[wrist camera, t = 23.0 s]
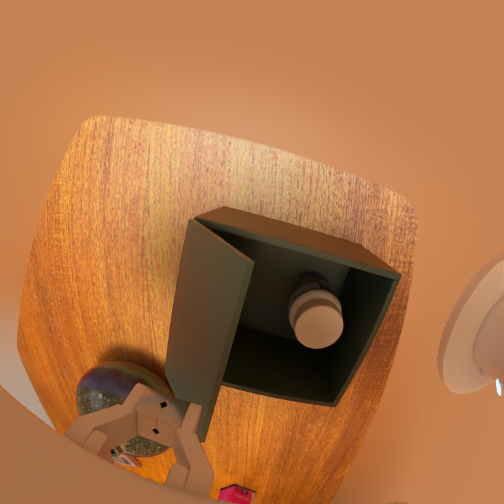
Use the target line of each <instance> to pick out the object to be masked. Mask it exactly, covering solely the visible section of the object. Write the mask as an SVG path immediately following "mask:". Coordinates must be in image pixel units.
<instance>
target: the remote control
mask: <svg viewBox="0 0 504 504" xmlns="http://www.w3.org/2000/svg"><path fill="white" fill-rule="evenodd" d="M112 458H113V460H114V461H115V462H116V463H119V464H122V465H127V466H132V467H137V468H141V467H142V465H141V464H140V463H139V462H138V461H137V460H136V459H135V458H134V457H132V456H127V455H122V454H120V456H119V457H112Z"/></svg>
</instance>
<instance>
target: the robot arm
mask: <svg viewBox="0 0 504 504" xmlns="http://www.w3.org/2000/svg"><path fill="white" fill-rule="evenodd" d="M473 360H474V362H475V363H476V364H477V365H478V366H479V367H480V372H481V374H482V375H483V376H484V377H485V376H487V375H488V376H490V377H491V378H492V379H493V380H494V381H495V382H496V384H497V391H498V394H499V395H501V389H500V386H501V387H502V388H503V389H504V294H503V296H502V297H501V298H500V299H499V300H498V302H497V303H496V304H495V305H494V306H493V307H492V309H491V310H490V311H489V313H488V314H487V316H486V318H485V319H484V321H483V323H482V325H481V327H480V329H479V331H478V334H477V336H476V339H475V343H474V347H473ZM201 410H202V406H201V405H198V404H194V403H191V402H189V401H185V400H182V399H179V398H176V397H173V396H170V395H167V394H164V393H162V392H159V391H157V390H154V389H152V388H150V387H147V386H145V385H142V384H140V383H138V384H136V385H135V387H134V388H133V390H132V391H131V392H130V394H129V395H128V397H127V398H126V400H125V401H124V403H123V404H122V405H120V404H117V405H114V406H112V407H109V408H105V409H102V410H99V411H96V412H93V413H90V414H86V415H83V416H80V417H77V418H76V419H75V420H74V422H73V423H72V424H71V425H70V427H69V428H68V429H67V430H66V432H65V433H64V434H63V435H62V434H61V433H59V432H58V431H56V430H55V429H53V428H52V427H51V426H49V425H48V424H46V423H45V422H44V421H42V420H41V419H40V418H38V417H37V416H36V415H34V414H33V413H32V412H31V411H29V410H28V409H27V408H26V407H24V406H23V405H22V404H21V403H20V402H18V401H17V400H16V399H15V398H14V397H12V395H10V394H9V393H8V392H7V391H6V390H5V389H4V388H3V387H2V386H1V385H0V504H237V503H231V502H226V501H221V500H216V499H212V498H209V494H210V490H211V486H212V482H213V478H214V472H213V470H212V468H211V466H210V464H209V462H208V459H207V457H206V455H205V453H204V450H203V448H202V446H201V444H200V441H199V439H198V436H197V434H196V430H197V426H198V423H199V419H200V414H201ZM137 435H139V436H142V437H144V438H147V439H150V440H152V441H155V442H157V443H160V444H163V445H165V446H168V447H170V448H173V449H174V453H175V456H176V459H177V463H178V464H174V465H172V467H171V469H170V471H169V474H168V476H167V479H166V481H165V484H161V483H158V482H155V481H153V480H150V479H147V478H145V477H142V476H140V475H138V474H135V473H133V472H131V471H128V470H126V469H124V468H122V467H120V466H117V465H115V464H113V463H114V462H113V458H112V454H111V449H113V448H115V447H117V446H119V445H121V444H123V443H125V442H127V441H129V440H131V439H133V438H135V437H136V436H137ZM391 504H407V503H405V502H396V503H391Z"/></svg>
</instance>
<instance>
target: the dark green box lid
mask: <svg viewBox="0 0 504 504" xmlns="http://www.w3.org/2000/svg"><path fill="white" fill-rule="evenodd" d="M254 264H255V262H254V261H253V260H251V259H250V258H248V257H247V256H245V255H244V254H243V253H241V252H240V251H238V250H237V249H236V248H234V247H233V246H231V245H230V244H229V243H227V242H226V241H224V240H223V239H222V238H220V237H219V236H217V235H216V234H214V233H213V232H212V231H210V230H209V229H207V228H206V227H205V226H203V225H202V224H200V223H199V222H198V221H196V220H195V219H189V221H188V226H187V231H186V236H185V241H184V246H183V251H182V256H181V262H180V267H179V273H178V279H177V285H176V291H175V297H174V303H173V310H172V317H171V324H170V331H169V339H168V347H167V356H166V365H165V375H166V377H167V380H168V382H169V384H170V386H171V388H172V390H173V393H174V395H175V397H176V398H179V399H182V400H185V401H189V402H191V403H194V404H198V405H201V406H202V410H201V414H200V419H199V423H198V426H197V430H196V434H197V436H198V439H199V441H200V443H201V442H205V439H206V435H207V432H208V428H209V425H210V421H211V418H212V414H213V411H214V407H215V404H216V400H217V397H218V393H219V390H220V386H221V383H222V379H223V375H224V372H225V368H226V365H227V361H228V358H229V354H230V350H231V347H232V343H233V340H234V336H235V332H236V329H237V325H238V322H239V318H240V314H241V311H242V307H243V304H244V300H245V296H246V293H247V289H248V285H249V282H250V278H251V274H252V271H253V267H254Z"/></svg>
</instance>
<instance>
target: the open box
mask: <svg viewBox="0 0 504 504" xmlns="http://www.w3.org/2000/svg"><path fill="white" fill-rule="evenodd" d="M194 219H195V220H196V221H198V222H199V223H200V224H202V225H203V226H205V227H206V228H207V229H209V230H210V231H212V232H213V233H214V234H216V235H217V236H219V237H220V238H222V239H223V240H224V241H226V242H227V243H229V244H230V245H231V246H233V247H234V248H236V249H237V250H238V251H240V252H241V253H243V254H244V255H245V256H247V257H248V258H250V259H251V260H253V261H254V262H255V264H254V267H253V271H252V274H251V278H250V282H249V285H248V289H247V293H246V296H245V300H244V304H243V307H242V311H241V314H240V318H239V322H238V325H237V329H236V332H235V336H234V340H233V343H232V347H231V350H230V354H229V358H228V361H227V365H226V368H225V372H224V375H223V379H222V383H221V385H223V386H227V387H231V388H234V389H238V390H242V391H246V392H251V393H255V394H259V395H264V396H269V397H274V398H279V399H284V400H289V401H295V402H301V403H308V404H314V405H322V406H330V407H336V405H337V404H338V402H339V401H340V399H341V398H342V396H343V394H344V393H345V391H346V389H347V388H348V386H349V384H350V383H351V381H352V379H353V377H354V376H355V374H356V372H357V370H358V368H359V367H360V365H361V363H362V361H363V359H364V357H365V355H366V354H367V352H368V350H369V348H370V346H371V344H372V342H373V340H374V338H375V336H376V334H377V331H378V329H379V327H380V325H381V323H382V321H383V319H384V316H385V314H386V312H387V310H388V307H389V305H390V303H391V300H392V298H393V295H394V293H395V290H396V288H397V285H398V283H399V280H400V278H401V274H400V273H398V272H397V271H396V270H394V269H393V268H392V267H390V266H389V265H388V264H386V263H385V262H383V261H382V260H381V259H379V258H378V257H377V256H375V255H374V254H372V253H371V252H370V251H368V250H367V249H365V248H364V247H363V246H361V245H359V244H356V243H353V242H350V241H346V240H343V239H340V238H336V237H333V236H330V235H326V234H323V233H320V232H316V231H313V230H309V229H306V228H302V227H299V226H295V225H292V224H288V223H285V222H281V221H278V220H274V219H270V218H267V217H263V216H259V215H256V214H252V213H248V212H244V211H241V210H237V209H233V208H229V207H225V206H223V207H221V208H218V209H215V210H212V211H209V212H207V213H204V214H201V215H198V216H196V217H194ZM305 271H315V272H318V273H320V274H322V275H323V276H325V277H326V279H327V280H328V282H329V284H330V285H331V287H332V289H333V291H334V293H335V295H336V296H337V298H338V300H339V302H340V305H341V309H342V319H343V330H342V333H341V335H340V337H339V338H338V339H337V340H336V341H335V342H334V343H333V344H331V345H329V346H327V347H324V348H319V349H314V348H309V347H306V346H304V345H303V344H302V343H300V342H299V340H298V339H297V337H296V335H295V331H294V329H293V328H292V326H291V324H290V321H289V313H288V300H287V289H288V285H289V283H290V281H291V280H292V279H293V278H294V277H295V276H296V275H297V274H299V273H302V272H305Z"/></svg>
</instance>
